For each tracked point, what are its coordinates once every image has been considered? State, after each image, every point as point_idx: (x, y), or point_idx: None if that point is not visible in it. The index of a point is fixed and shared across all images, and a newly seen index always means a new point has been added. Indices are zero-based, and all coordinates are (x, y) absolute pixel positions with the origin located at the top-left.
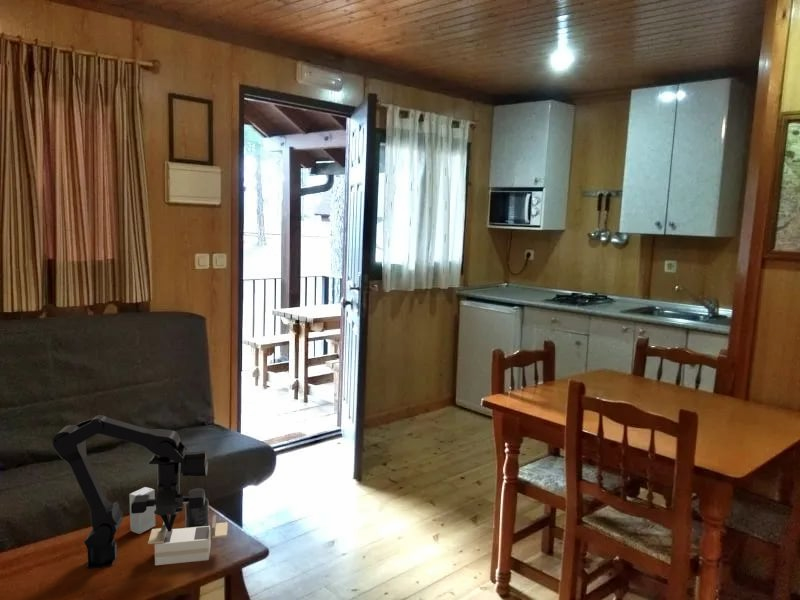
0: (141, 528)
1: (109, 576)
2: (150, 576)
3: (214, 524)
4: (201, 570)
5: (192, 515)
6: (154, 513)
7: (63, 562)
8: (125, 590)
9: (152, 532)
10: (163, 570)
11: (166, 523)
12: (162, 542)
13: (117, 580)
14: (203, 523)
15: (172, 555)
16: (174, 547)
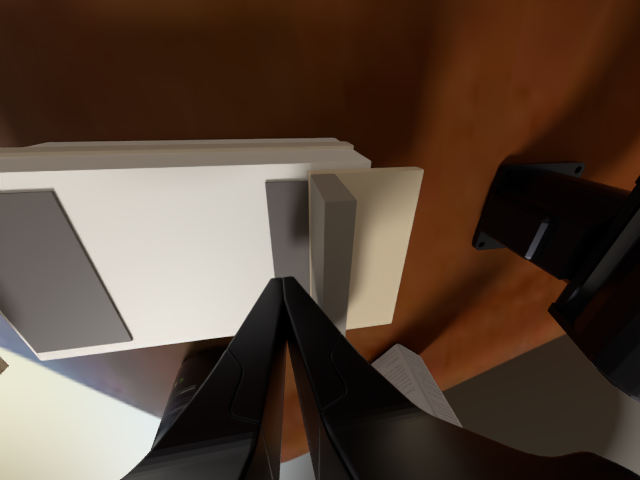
0: (398, 360)
1: (522, 75)
2: (347, 15)
3: None
4: (27, 4)
5: None
6: (620, 469)
7: None
8: None
9: (390, 291)
10: (286, 73)
11: (312, 322)
12: (317, 171)
13: (500, 18)
14: (178, 388)
15: (247, 143)
16: (228, 156)
